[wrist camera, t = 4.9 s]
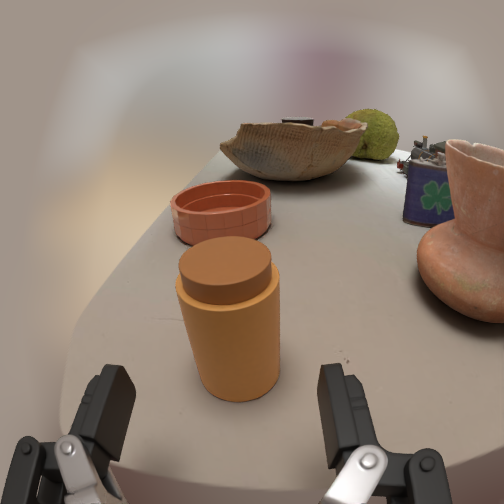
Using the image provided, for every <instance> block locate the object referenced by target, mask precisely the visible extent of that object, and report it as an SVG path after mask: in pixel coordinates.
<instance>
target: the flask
mask: <svg viewBox="0 0 504 504" xmlns="http://www.w3.org/2000/svg"><path fill="white" fill-rule="evenodd" d="M419 159H420V160H419ZM419 159H418V160H417V159H412V160H410V161H409V168H408V178H407V188H406V195H405V203H404V211H403V218H402V219H403V221H404V222H406V223H409V224H413V225H419V226H425V227H435V226H437V225H439V224H441V223H444V222H447V221H450V220H453V219H455V215H454V210H453V205H452V200H451V194H450V187H449V181H448V175H447V167H446V165H445V163H446V161H445V154H444V153H441V152H438V156H437V158H435V159H433V160H431V159H428V158H426V159H423V158H422V157H420V158H419ZM424 160H429V161H430V162H428V161H424Z"/></svg>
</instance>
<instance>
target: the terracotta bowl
mask: <svg viewBox="0 0 504 504" xmlns="http://www.w3.org/2000/svg"><path fill="white" fill-rule="evenodd" d="M170 205H171V211H172V217H173V222H174V228H175V232H176V235H178V236H179V237H180V239H181V240H182V241H184V242H185V243H187V244H190V245H193V246H194V245H196V244H198V243H200V242H203V241H206V240H209V239H213V238H218V237H227V236H238V237H246V238H251V239H256V238H258V237H260V236H261V235H262V234H264V233H265V232H266V230H267V229H268V227H269V225H270V223H271V195H270V189H269V188H267V187H266V186H265V185H263V184H260V183H257V182H252V181H245V180H225V181H214V182H208V183H203V184H199V185H196V186H192V187H190V188H187V189H185V190H182V191H180V192H179V193H177V194H176V195H175V196H173V198H172V199H171V201H170Z"/></svg>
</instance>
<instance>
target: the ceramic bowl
mask: <svg viewBox="0 0 504 504" xmlns="http://www.w3.org/2000/svg"><path fill="white" fill-rule="evenodd" d="M367 128H368V123H366V122H364V123H361V122H360V121H358V120H354V119H351V118H345V119H342V120H341V121H340V122H339V121H336V120H326V121H324V122H323V123H322V125H321V127H319V126H309V125H306V124H297V123H243V124H241V126H240V129H239V130H238V131H237V134H236V136H235V137H233V138H231V139H230V140H228V141H225V142H222V143H221V144H220V149H221V151H222V152H223V153H224V154H225V155H226V156H227V157H228V158H229V159H230V160H231V161H232V162H233V163H234V164H235V165H236V166H237V167H239V168H240V169H241V170H243V171H245V172H247V173H249V174H251V175H254V176H256V177H259V178H261V179H269V180H278V181H303V180H310V179H314V178H318V177H321V176H324V175H327V174H330V173H333V172H334V171H336V170H337V169H339V168H340V167H341V166H342V165H343V164H345V163H346V161H347V160H348V159H349V158H350V157H351V156H352V155H353V153H354V152H355V150H356V148H357V146H358V144H359V142H360V138H361V136H362V134H363V133H364V132H365V131H366V129H367Z"/></svg>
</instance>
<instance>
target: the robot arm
mask: <svg viewBox="0 0 504 504" xmlns="http://www.w3.org/2000/svg"><path fill="white" fill-rule="evenodd" d="M84 394H85V395H83V398H82V400H81V403H80V406H79V408H78V411H77V413H76V416H75V419H74V421H73V424H72V427H71V430H70V432H69V434H68V435H64V436H62V437H60V438H59V439H58V440H57V442H44V443H39V442H38V441H37V440H36V439H35V438H33V437H31V436H25V437H23V438H22V439H20V440H19V441H18V443H17V446H16V449H15V452H14V455H13V458H12V461H11V465H10V468H9V472H8V475H7V479H6V483H5V487H4V491H3V495H2V499H1V504H129V503H128V501H127V500H126V498H125V496H124V494H123V492H122V491H121V489H120V487H119V485H118V483H117V481H116V479H115V477H114V475H113V473H112V471H111V468H110V467H109V463H110V460H113V461H117V462H119V460H120V456H121V452H122V448H123V444H124V440H125V436H126V432H127V428H128V424H129V421H130V417H131V413H132V410H133V406H134V402H135V399H136V389H135V386H134V384H133V382H132V381H131V379H130V377H129V375H128V373H127V372H126V370H125V368H124V367H123V366H121V365H110V364H106V365H105V366H104V367H103V369H102V372H101V374H100V375H95V377H94V378H93V379H92V380H91V381H90V382H89V383H88V385H87V388H86V390H85V393H84ZM317 396H318V404H319V410H320V416H321V423H322V429H323V436H324V442H325V449H326V456H327V463H328V469H334V468H336V475H337V478H336V479H335V481H334V482H333V484H332V485H331V487H330V488H329V490H328V491H327V492H326V494H325V495H324V497H323V498H322V499H321V501H320V502H319V504H366V503H367V501H368V500H369V498H370V496H385V497H386V499H387V504H452V499H451V494H450V489H449V484H448V479H447V475H446V471H445V466H444V462H443V459H442V456H441V455H440V454H439V453H438V452H437V451H436V450H434V449H430V448H425V449H421V450H419V451H417V452H416V453H415V454H401V453H392V452H389V451H387V450H385V449H384V448H382V447H381V446H380V444H379V443H378V441H377V438H376V434H375V430H374V426H373V422H372V419H371V415H370V411H369V407H368V404H367V400H366V398H365V393H364V390H363V386H362V384H361V382H360V381H359V380H358V379H357V378H356V376H355V375H347V376H344V372H343V369H342V365H341V364H340V363H335V364H326V365H321V369H320V375H319V380H318V386H317ZM41 475H42V478H41V482H40V486H39V481H40V477H41ZM38 486H39V491H38V495H37V490H38ZM36 495H37V496H36Z"/></svg>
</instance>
